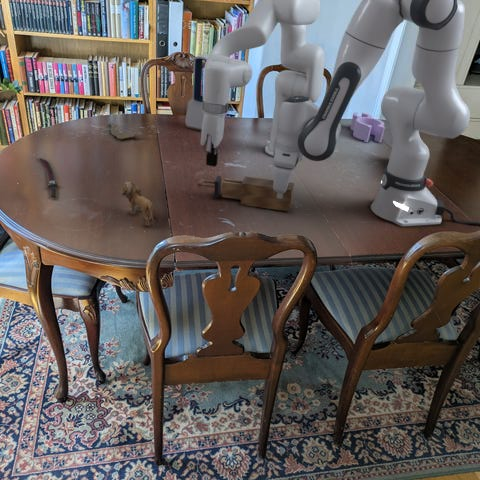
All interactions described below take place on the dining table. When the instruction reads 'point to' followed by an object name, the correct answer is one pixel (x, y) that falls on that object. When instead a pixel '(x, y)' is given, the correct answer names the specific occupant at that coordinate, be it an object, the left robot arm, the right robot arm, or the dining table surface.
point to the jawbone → (122, 135)
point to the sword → (52, 181)
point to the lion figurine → (137, 201)
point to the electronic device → (196, 96)
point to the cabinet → (265, 194)
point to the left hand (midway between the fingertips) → (211, 164)
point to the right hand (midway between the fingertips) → (281, 192)
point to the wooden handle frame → (224, 187)
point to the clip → (367, 127)
